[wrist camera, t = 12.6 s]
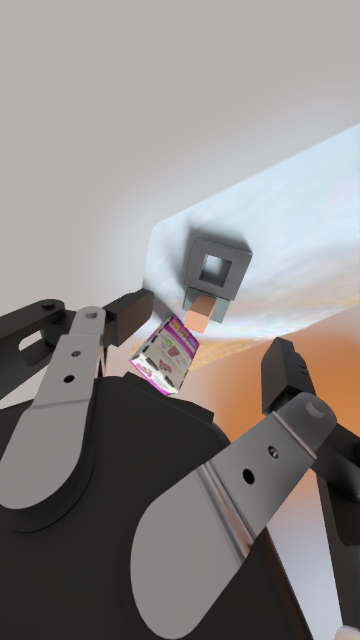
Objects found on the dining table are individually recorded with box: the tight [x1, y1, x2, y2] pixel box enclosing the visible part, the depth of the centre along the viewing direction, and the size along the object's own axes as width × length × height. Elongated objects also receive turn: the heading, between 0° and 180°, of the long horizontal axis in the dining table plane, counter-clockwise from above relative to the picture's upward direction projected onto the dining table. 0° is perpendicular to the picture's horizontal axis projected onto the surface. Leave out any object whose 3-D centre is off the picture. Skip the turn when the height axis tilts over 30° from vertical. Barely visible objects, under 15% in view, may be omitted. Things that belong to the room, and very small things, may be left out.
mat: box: [183, 287, 230, 323], centre depth 41 cm, size 10×6×1 cm, turn 78°
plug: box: [184, 294, 217, 334], centre depth 36 cm, size 4×4×9 cm
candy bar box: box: [129, 315, 199, 396], centre depth 41 cm, size 11×5×16 cm, turn 42°
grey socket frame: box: [184, 238, 253, 301], centre depth 35 cm, size 11×9×3 cm
